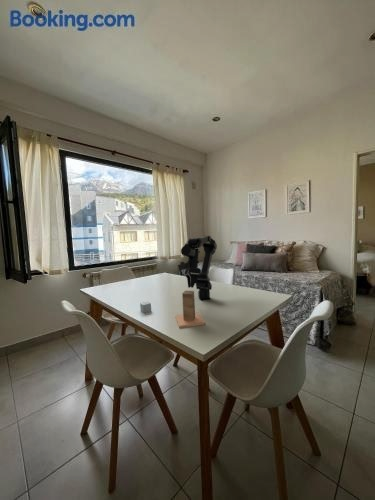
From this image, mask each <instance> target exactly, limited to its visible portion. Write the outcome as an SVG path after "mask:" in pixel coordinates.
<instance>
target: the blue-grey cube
mask: <svg viewBox="0 0 375 500" xmlns="http://www.w3.org/2000/svg"><path fill="white" fill-rule="evenodd" d="M139 306H140V312H141V313H143V314H146V313H149V312H152V303H151V302H150V301H148V300H147V301H142V302H140V305H139ZM145 312H146V313H145Z"/></svg>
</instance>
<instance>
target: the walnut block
mask: <svg viewBox="0 0 375 500" xmlns="http://www.w3.org/2000/svg"><path fill="white" fill-rule="evenodd" d="M181 295H182V314H183V318H184V320H187V321H193V320H194V318H195V313H196V303H195V290H184V291H183V292H182V293H181Z"/></svg>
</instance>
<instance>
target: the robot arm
mask: <svg viewBox="0 0 375 500" xmlns="http://www.w3.org/2000/svg"><path fill="white" fill-rule="evenodd" d="M201 247H202V248H203V250H204V256H203V262H202V265H201V269H200V267H198V266H199V263H200V261H199V255H200V253H201V252H200V249H201ZM217 248H218V244H217V241H215V240H214V239H213V237H212V236H210V235H203V236H200V237H189V238H188V240H187V241H186V243H184V245H183V246H182V247H181V249H180V254H181V255H183V256H184V257H185V258H187V261H186V262H184V261H181V262H179V264H177V266H176V267H177V268H176V269H177V271H178V272H181V271H183V270H184V277H185V278H186V280H187V281H186V282H187V288H189V289H190V288H191V289H192V288H194V286H195V288H196V290H198V291H197V293H198V294H197V295H198V296H197V298H198V299H200V301H205V300H207V301H208V300H212V299H211V294H210V293H211V291H210V290H212V288H213V285H212V283H211V279H210V276H209V273H210V267H211V262H212V257H213V255H215V253H216V250H217Z"/></svg>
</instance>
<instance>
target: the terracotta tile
mask: <svg viewBox="0 0 375 500" xmlns="http://www.w3.org/2000/svg"><path fill="white" fill-rule="evenodd" d="M174 317H175V320H176V323H177V326H178V328H179V329H182V328H188V327H189V328H190V327H195V326H196V327H197V326H203V325H206V321H205V320H204V319H203V317H202V316H201V314H200V313H199V312H195V318H194V320H193V321H187V320H184V318H183V313H181V314H175V315H174Z"/></svg>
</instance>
